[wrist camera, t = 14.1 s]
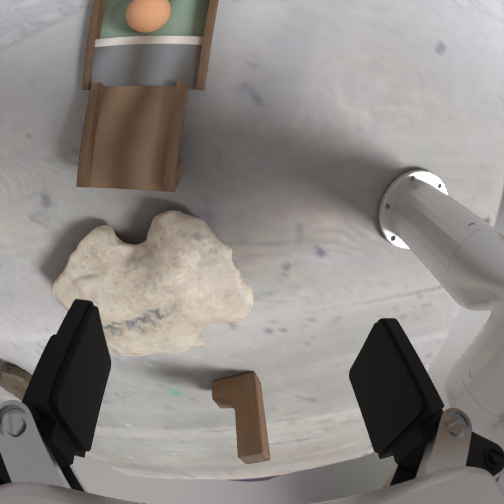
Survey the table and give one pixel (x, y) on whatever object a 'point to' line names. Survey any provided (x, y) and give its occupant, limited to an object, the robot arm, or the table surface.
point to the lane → (141, 94)
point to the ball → (147, 14)
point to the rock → (156, 285)
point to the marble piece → (14, 380)
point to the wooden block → (245, 414)
